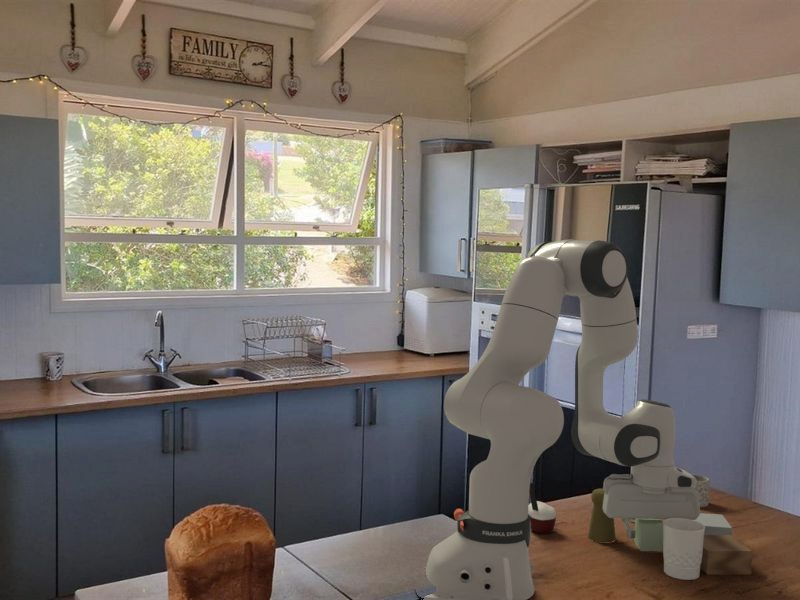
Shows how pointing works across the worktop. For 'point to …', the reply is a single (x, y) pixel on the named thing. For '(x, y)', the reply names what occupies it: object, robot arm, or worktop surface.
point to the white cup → (682, 547)
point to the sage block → (649, 534)
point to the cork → (600, 520)
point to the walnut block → (725, 555)
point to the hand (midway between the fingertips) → (649, 537)
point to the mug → (702, 489)
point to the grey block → (714, 524)
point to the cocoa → (540, 514)
